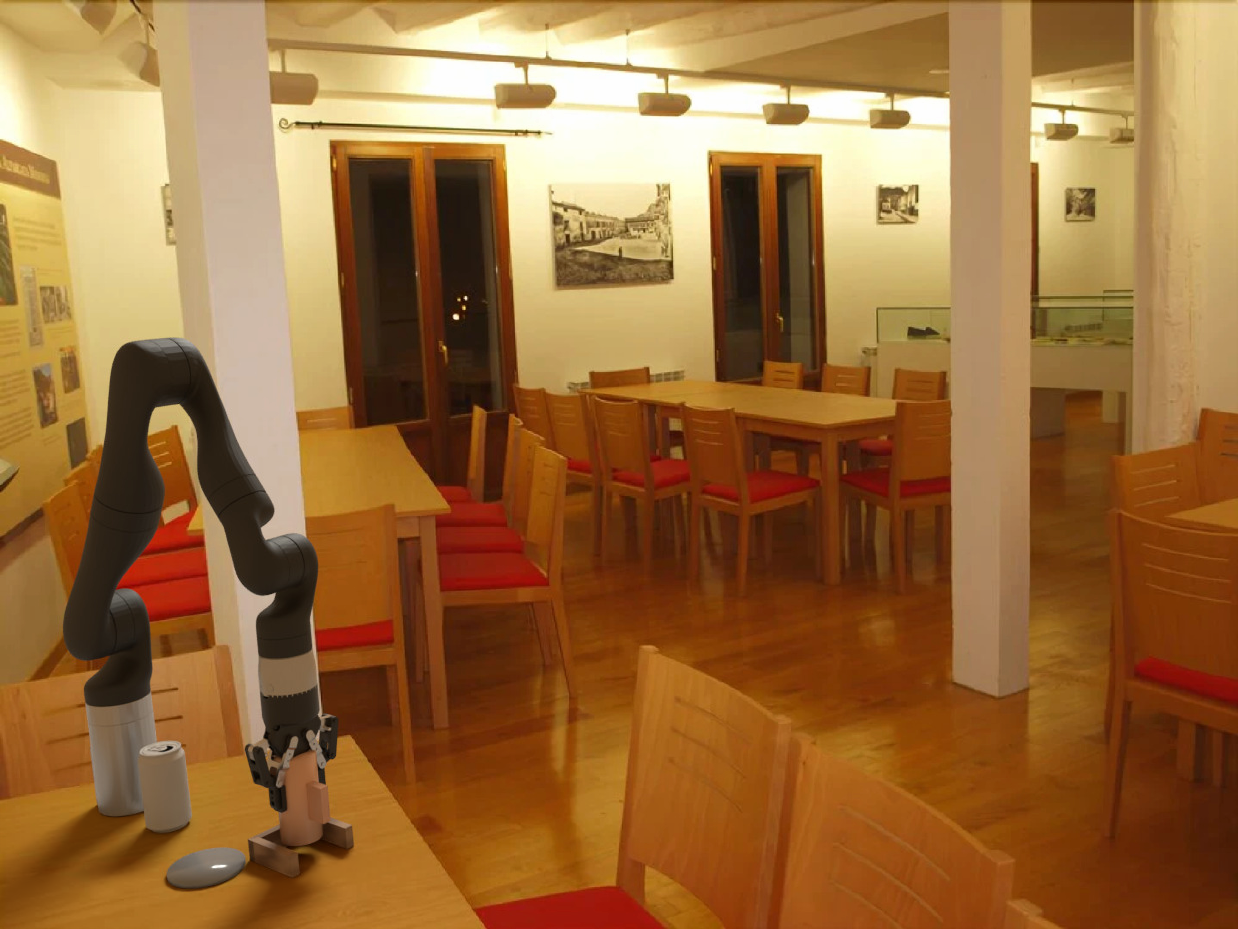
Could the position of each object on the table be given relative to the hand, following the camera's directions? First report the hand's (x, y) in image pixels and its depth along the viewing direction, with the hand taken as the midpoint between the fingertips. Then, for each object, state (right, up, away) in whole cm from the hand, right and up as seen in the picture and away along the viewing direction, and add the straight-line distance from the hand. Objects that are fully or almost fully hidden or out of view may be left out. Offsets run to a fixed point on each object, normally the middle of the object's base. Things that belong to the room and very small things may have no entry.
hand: (298, 801), depth 158 cm
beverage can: (-22, -7, +12) cm, 26 cm away
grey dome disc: (-12, -9, -2) cm, 15 cm away
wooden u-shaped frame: (+1, -7, +1) cm, 8 cm away
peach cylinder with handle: (+1, -5, 0) cm, 5 cm away
